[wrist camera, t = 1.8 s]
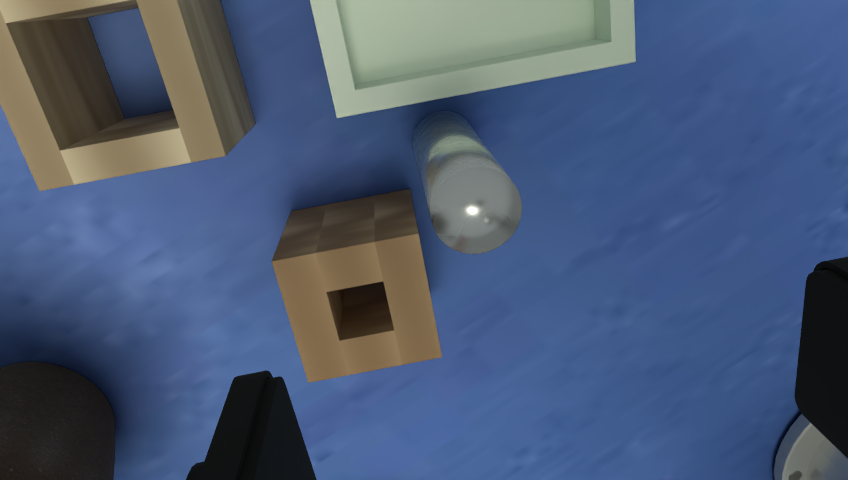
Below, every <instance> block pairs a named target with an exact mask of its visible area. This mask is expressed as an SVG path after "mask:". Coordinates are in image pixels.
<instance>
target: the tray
mask: <svg viewBox="0 0 848 480" xmlns="http://www.w3.org/2000/svg"><path fill="white" fill-rule="evenodd" d="M310 3H311V7H312V12H313V16H314V20H315V25H316V29H317V34H318V38H319V42H320V47H321V51H322V55H323V60H324V64H325V68H326V73H327V77H328V81H329V86H330V90H331V94H332V99H333V103H334V107H335V112H336V116H337V118H340V117H346V116H351V115H356V114H362V113H367V112H372V111H378V110H383V109H388V108H394V107H399V106H404V105H409V104H415V103H420V102H425V101H431V100H436V99H441V98H447V97H452V96H457V95H463V94H468V93H473V92H478V91H484V90H489V89H494V88H500V87H505V86H510V85H516V84H521V83H526V82H532V81H537V80H542V79H547V78H553V77H558V76H563V75H569V74H574V73H579V72H585V71H590V70H595V69H601V68H606V67H611V66H616V65H622V64H627V63H632V62H636V56H635V21H634V0H310Z"/></svg>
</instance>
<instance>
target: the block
mask: <svg viewBox="0 0 848 480" xmlns="http://www.w3.org/2000/svg"><path fill="white" fill-rule="evenodd" d="M272 264H273V268H274V271H275V274H276V277H277V281H278V284H279V287H280V291H281V294H282V297H283V301H284V304H285V307H286V310H287V314H288V317H289V320H290V324H291V327H292V330H293V334H294V337H295V340H296V343H297V347H298V350H299V353H300V357H301V360H302V363H303V366H304V370H305V373H306V376H307V380H308V383H310V382H315V381H320V380H325V379H331V378H336V377H341V376H346V375H352V374H357V373H362V372H367V371H372V370H378V369H383V368H388V367H393V366H399V365H404V364H409V363H414V362H419V361H425V360H430V359H435V358H440V357H442V354H441V349H440V344H439V338H438V333H437V328H436V322H435V317H434V312H433V307H432V301H431V296H430V291H429V285H428V280H427V275H426V270H425V264H424V259H423V254H422V249H421V243H420V238H419V233H418V228H417V222H416V217H415V212H414V207H413V201H412V196H411V191H410V189H406V190H401V191H395V192H390V193H385V194H379V195H374V196H369V197H364V198H358V199H353V200H348V201H342V202H337V203H332V204H327V205H321V206H316V207H311V208H306V209H300V210H295V211H291V213H290V215H289V218H288V220H287V223H286V226H285V228H284V231H283V233H282V236H281V239H280V241H279V244H278V246H277V249H276V252H275V254H274V257H273V259H272Z"/></svg>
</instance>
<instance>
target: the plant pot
mask: <svg viewBox="0 0 848 480" xmlns="http://www.w3.org/2000/svg"><path fill="white" fill-rule="evenodd" d="M114 461H115V418H114V414H113V411H112V408H111V406H110V404H109V402H108V400H107V399H106V397H105V396H104V395H103V393H102V392H101V391H100V390H99V389H98V388H97V387H96V386H95V385H94V384H93V383H92V382H90V381H89V380H88V379H86V378H85V377H83V376H82V375H80V374H78V373H76V372H74V371H72V370H69V369H67V368H64V367H61V366H57V365H54V364H49V363H43V362H22V363H15V364H10V365H7V366H4V367H1V368H0V480H113V476H114Z"/></svg>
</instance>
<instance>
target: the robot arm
mask: <svg viewBox="0 0 848 480" xmlns="http://www.w3.org/2000/svg"><path fill="white" fill-rule="evenodd" d="M795 400H796V404H797V406H798V408H799V410H800V412H801V413H802V414H801V415H800V416H799V417H798V419H797V420H796V421H795V422H794V423H793V425H792V426H791V427H790V429H789V430H788V432H787V434H786V435H785V437H784V439H783V440H782V442H781V445H780V448H779V450H778V453H777V456H776V460H775V467H774V478H775V480H848V257H844V258H839V259H834V260H829V261H824V262H820V263H819V264H817V265H816V267H815V268H814V271H813V272H812V273H810V274H809V275H808V277H807V280H806V288H805V298H804V308H803V318H802V327H801V337H800V347H799V357H798V367H797V377H796V387H795ZM186 480H316V477H315V474H314V471H313V467H312V464H311V461H310V458H309V455H308V452H307V449H306V446H305V443H304V440H303V437H302V434H301V431H300V428H299V425H298V422H297V418H296V415H295V412H294V409H293V406H292V403H291V400H290V397H289V394H288V391H287V388H286V385H285V382H284V380H283V378H282V377H275V378H273V377H272V375H271V373H270V372H269V371H262V372H257V373H252V374H247V375H241V376H237V377H235V378H234V379H233V381H232V384H231V387H230V390H229V393H228V396H227V399H226V401H225V404H224V407H223V410H222V413H221V416H220V419H219V422H218V424H217V427H216V430H215V433H214V436H213V439H212V442H211V444H210V447H209V450H208V453H207V456H206V459H205V462H200V463H196V464H195V465H194V466H193V467H192V468H191V470H190V472H189V474H188V476H187V478H186Z"/></svg>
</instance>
